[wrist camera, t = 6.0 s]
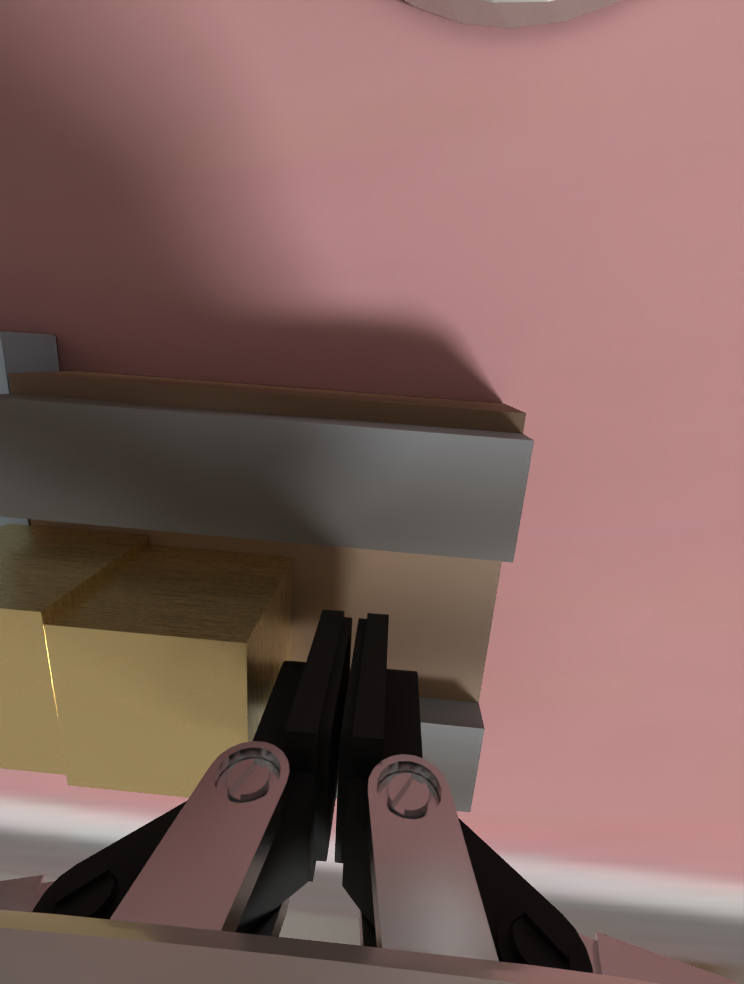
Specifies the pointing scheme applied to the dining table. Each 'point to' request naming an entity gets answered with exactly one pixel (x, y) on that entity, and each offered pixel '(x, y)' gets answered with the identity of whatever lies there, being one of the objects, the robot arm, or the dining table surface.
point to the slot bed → (299, 506)
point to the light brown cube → (168, 665)
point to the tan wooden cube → (20, 632)
